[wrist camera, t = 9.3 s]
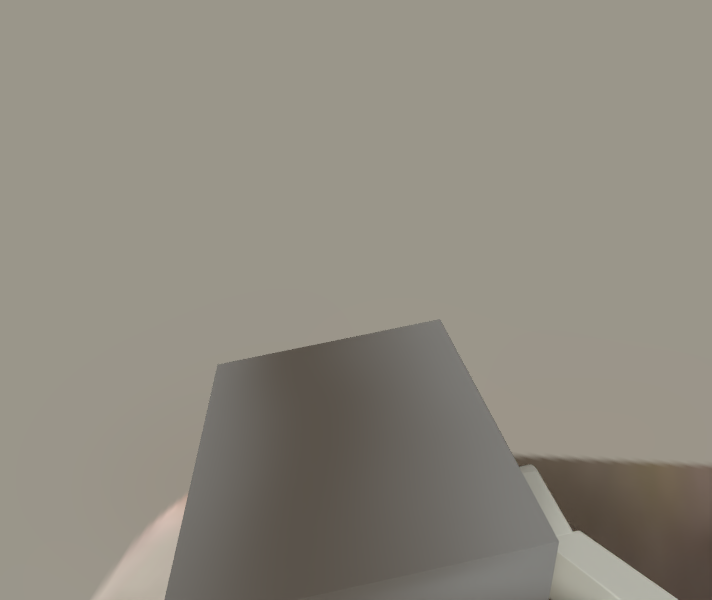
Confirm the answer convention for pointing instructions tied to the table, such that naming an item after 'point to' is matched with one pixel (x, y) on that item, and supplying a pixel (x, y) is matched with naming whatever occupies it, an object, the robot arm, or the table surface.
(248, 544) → the maple block
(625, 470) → the table surface
